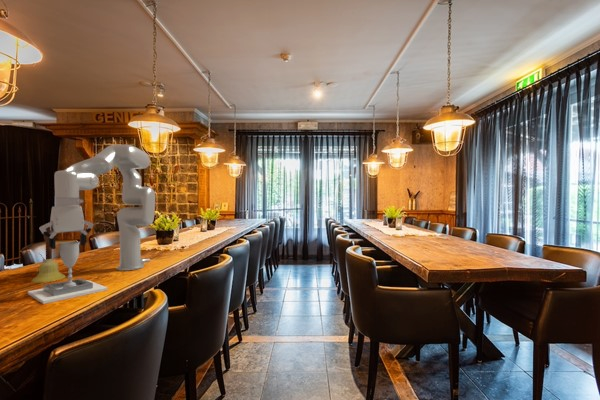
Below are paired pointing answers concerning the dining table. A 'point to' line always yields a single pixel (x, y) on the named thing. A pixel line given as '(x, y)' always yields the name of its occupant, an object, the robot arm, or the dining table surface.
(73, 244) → the chalice
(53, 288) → the collar
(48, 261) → the handbell
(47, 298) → the board
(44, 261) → the lily
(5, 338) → the dining table surface
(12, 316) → the dining table surface
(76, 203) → the robot arm
